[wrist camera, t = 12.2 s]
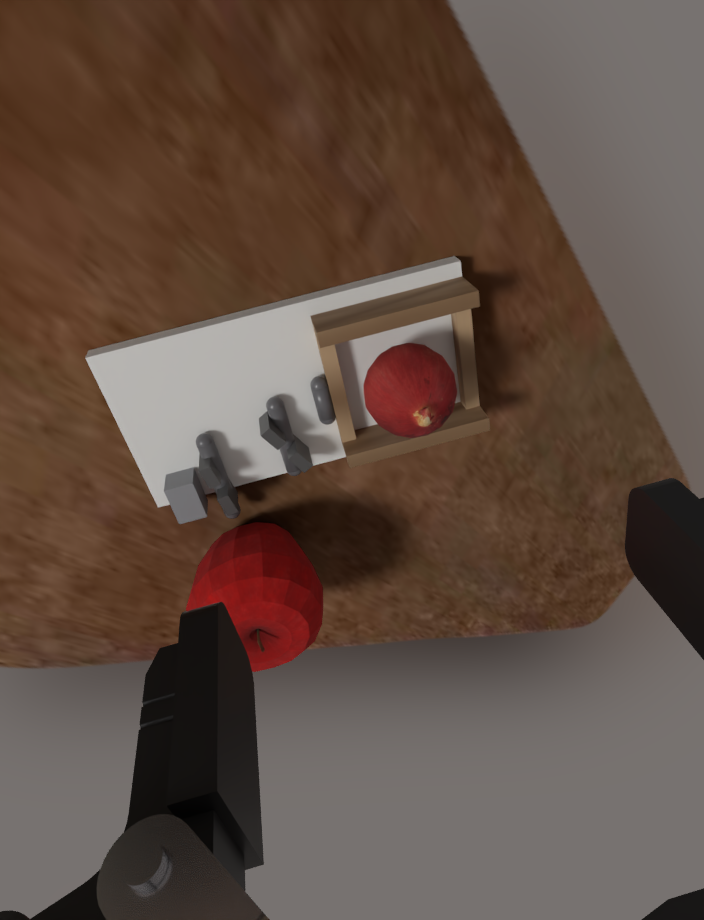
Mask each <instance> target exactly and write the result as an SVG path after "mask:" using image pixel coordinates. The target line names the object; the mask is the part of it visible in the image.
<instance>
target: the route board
mask: <svg viewBox="0 0 704 920" xmlns="http://www.w3.org/2000/svg"><path fill="white" fill-rule="evenodd" d="M458 277H462V269H461V261H460V260H459V259H458V258H457V257H455V256H453V257H449V258H445V259H441V260H437V261H433V262H429V263H425V264H422V265H418V266H414V267H410V268H406V269H402V270H398V271H395V272H391V273H387V274H383V275H379V276H375V277H371V278H367V279H364V280H360V281H356V282H352V283H348V284H344V285H340V286H336V287H333V288H329V289H325V290H321V291H317V292H313V293H309V294H305V295H302V296H298V297H294V298H290V299H286V300H282V301H278V302H274V303H271V304H267V305H263V306H259V307H255V308H251V309H247V310H244V311H240V312H236V313H232V314H228V315H224V316H220V317H216V318H213V319H209V320H205V321H201V322H197V323H193V324H189V325H185V326H182V327H178V328H174V329H170V330H166V331H162V332H158V333H154V334H151V335H147V336H143V337H139V338H135V339H131V340H127V341H124V342H120V343H116V344H112V345H108V346H104V347H100V348H96V349H93V350H89V351H88V353H87V355H86V360H87V362H88V364H89V367H90V369H91V371H92V373H93V375H94V377H95V379H96V381H97V383H98V385H99V387H100V389H101V391H102V393H103V395H104V397H105V399H106V401H107V403H108V406H109V408H110V410H111V412H112V414H113V416H114V418H115V420H116V422H117V424H118V426H119V428H120V430H121V432H122V434H123V436H124V438H125V440H126V442H127V444H128V447H129V449H130V451H131V453H132V455H133V457H134V459H135V461H136V463H137V465H138V467H139V469H140V471H141V473H142V475H143V477H144V479H145V481H146V483H147V486H148V488H149V490H150V492H151V494H152V496H153V498H154V500H155V502H156V504H157V506H158V507H162V506H166V505H169V504H170V505H171V508H172V510H173V512H174V514H175V516H176V518H177V520H178V522H179V524H182V523H186V522H190V521H193V520H197V519H201V518H204V517H207V507H208V500H207V497H206V494H210V493H214V492H216V494H217V500H218V502H219V503H220V505H221V506H222V509H223V511H224V514H225V515H226V516H227V517H228V518H231V519H233V518H236V517H238V516H239V514H240V506H239V504H238V492H237V490H236V489H235V487H236V486H240V485H243V484H247V483H251V482H254V481H258V480H262V479H266V478H269V477H273V476H277V475H280V474H284V473H288V474H290V475H292V476H297V475H299V474H300V473H301V472H302V471H303V472H304V473H305V472H306V471H307V470H308V469H309V468H311V467H312V466H314V465H317V464H321V463H325V462H328V461H332V460H336V459H340V458H343V457H346V455H345V452H344V449H343V445H342V441H341V437H340V433H339V429H338V425H337V421H336V415H335V411H334V407H333V403H332V399H331V395H330V391H329V387H328V383H327V380H326V377H325V373H324V369H323V365H322V361H321V357H320V353H319V349H318V345H317V341H316V336H315V332H314V328H313V324H312V320H311V316H312V315H315V314H319V313H323V312H327V311H331V310H335V309H338V308H342V307H346V306H350V305H354V304H358V303H362V302H365V301H369V300H373V299H377V298H381V297H385V296H389V295H392V294H396V293H400V292H404V291H408V290H412V289H415V288H419V287H423V286H427V285H431V284H435V283H439V282H442V281H446V280H450V279H454V278H458ZM405 343H415V344H423V345H426V346H427V347H429V348H430V349H432V350H433V351H435V352H437V353H439V354H440V355H442V356H443V357H444V359H445V360H446V362H447V363H448V365H449V366H450V368H451V369H452V371H453V373H454V375H455V381H456V387H457V396H456V400H455V403H458V402H461V401H460V392H459V383H458V374H457V365H456V356H455V347H454V338H453V328H452V319H451V314H449V315H445V316H442V317H438V318H434V319H430V320H426V321H423V322H419V323H415V324H411V325H407V326H403V327H400V328H396V329H392V330H388V331H384V332H381V333H377V334H373V335H369V336H365V337H361V338H358V339H354V340H350V341H346V342H342V343H339V344H335V349H336V353H337V357H338V362H339V366H340V370H341V375H342V379H343V383H344V388H345V392H346V396H347V401H348V405H349V409H350V414H351V418H352V422H353V427H354V430H357V429H361V428H365V427H369V426H372V425H376V424H377V423H376V421H375V420H374V419H373V417H372V416H371V414H370V413H369V412H368V410H367V408H366V406H365V399H364V388H363V384H364V381H365V378H366V374H367V371H368V369H369V368H370V366H371V365H372V364H373V362H374V361H375V360H376V358H377V357H378V356H379V354H381V353H383V352H384V351H386V350H387V349H389V348H391V347H392V346H396V345H401V344H405Z"/></svg>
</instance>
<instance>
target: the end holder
mask: <svg viewBox="0 0 704 920" xmlns="http://www.w3.org/2000/svg"><path fill="white" fill-rule="evenodd" d="M476 307H480V301H479V290H477V289H476V288H475V287H474V286H473V285H472V284H470V283H469V282H468V281H467V280H466V279H465V278H464V277H458V278H454V279H450V280H446V281H442V282H439V283H435V284H431V285H427V286H423V287H419V288H415V289H412V290H408V291H404V292H400V293H396V294H392V295H389V296H385V297H381V298H377V299H373V300H369V301H365V302H362V303H358V304H354V305H350V306H346V307H342V308H338V309H335V310H331V311H327V312H323V313H319V314H315V315H312V316H311V320H312V324H313V328H314V332H315V336H316V341H317V345H318V349H319V353H320V357H321V361H322V365H323V369H324V373H325V377H326V380H327V383H328V387H329V391H330V395H331V399H332V403H333V407H334V411H335V415H336V421H337V425H338V429H339V433H340V437H341V441H342V445H343V449H344V452H345V455H346V458H347V461H348V464H349V467H350V468H353V467H356V466H360V465H364V464H367V463H371V462H375V461H379V460H382V459H386V458H390V457H393V456H397V455H401V454H404V453H408V452H412V451H415V450H419V449H423V448H427V447H430V446H434V445H438V444H441V443H445V442H449V441H452V440H456V439H460V438H463V437H467V436H471V435H474V434H478V433H482V432H486V431H489V430H490V423H489V417H488V416H487V415H486V413H485V412H484V411H483V409H482V408H481V407H480V403H479V392H478V381H477V370H476V359H475V348H474V337H473V325H472V314H471V309H472V308H476ZM449 314H451V319H452V328H453V338H454V347H455V356H456V365H457V374H458V383H459V392H460V401H461V402H458V403H455V405H454V409H453V412H452V414H451V415H450V417H449V418H448V419H447V420H446V422H445V423H444V424H443V425H442V427H440V428H439V429H437V430H435V431H434V432H432V433H430V434H429V435H427V436H421V437H416V438H408V437H402V436H396V435H394V434H392V433H390V432H389V431H387V430H385V429H383V428H382V427H380V426H379V425H378V424H376V425H372V426H369V427H365V428H361V429H357V430H354V427H353V422H352V418H351V414H350V409H349V405H348V401H347V396H346V392H345V388H344V383H343V379H342V375H341V370H340V366H339V362H338V357H337V353H336V349H335V344H339V343H342V342H346V341H350V340H354V339H358V338H361V337H365V336H369V335H373V334H377V333H381V332H384V331H388V330H392V329H396V328H400V327H403V326H407V325H411V324H415V323H419V322H423V321H426V320H430V319H434V318H438V317H442V316H445V315H449Z"/></svg>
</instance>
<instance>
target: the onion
mask: <svg viewBox="0 0 704 920" xmlns="http://www.w3.org/2000/svg"><path fill="white" fill-rule="evenodd" d="M363 388H364V399H365V406H366V408H367V410H368V412H369V413H370V414H371V416H372V417H373V419H374V420H375V421H376V423H377V424H378V425H379V426H380V427H382V428H383V429H385V430H387V431H389V432H390V433H392V434H394V435H396V436H402V437H408V438H416V437H421V436H427V435H429V434H430V433H432V432H434V431H435V430H437V429H439V428H440V427H442V425H443V424H444V423H445V422H446V420H447V419H448V418H449V417H450V415H451V414H452V412H453V409H454V405H455V400H456V396H457V387H456V381H455V375H454V373H453V371H452V369H451V368H450V366H449V365H448V363H447V362H446V360H445V359H444V357H443V356H442V355H440V354H439V353H437V352H435V351H433V350H432V349H430V348H429V347H427V346H426V345H423V344H415V343H405V344H401V345H396V346H392V347H391V348H389V349H387V350H386V351H384V352H383V353H381V354H379V356H378V357H377V358H376V360H375V361H374V362H373V364H372V365H371V366H370V368H369V369H368V371H367V374H366V378H365V381H364V384H363Z"/></svg>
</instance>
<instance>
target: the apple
mask: <svg viewBox="0 0 704 920" xmlns="http://www.w3.org/2000/svg"><path fill="white" fill-rule="evenodd" d="M218 602H223V603H224V605H225V607H226V608H227V611H228V613H229V615H230V617H231V619H232V621H233V624H234V626H235V628H236V630H237V632H238V634H239V637H240V639H241V641H242V643H243V645H244V647H245V650H246V652H247V655H248V658H249V661H250V665H251V669H252V671H254V672H256V671H260V670H265V669H269V668H273V667H276V666H279V665H281V664H284V663H287V662H289V661H292V660H293V659H294V658H295V657H297V656H298V655H299V654H300V653H302V652H303V651H304V650H305V649H306V648H308V647H309V646H310V645H311V644H312V643H313V642H314V641H315V639H316V637H317V634H318V632H319V630H320V627H321V625H322V616H323V587H322V585H321V582H320V580H319V578H318V576H317V573H316V571H315V569H314V567H313V565H312V563H311V562H310V560H309V559H308V557H307V556H306V555H305V553H304V552H303V550H302V549H301V548H300V546H299V545H298V544H297V542H296V541H295V540H294V538H293V537H292V536H291V534H290V533H289V532H288V531H287V530H285V529H283V528H281V527H279V526H278V525H276V524H273V523H260V522H255V523H251V524H246V525H242V526H238V527H236V528H234V529H232V530H230V531H228V532H225V533H223V534H222V535H221V536H220V537H219V538H218V539H217V540H216V541H215V542H214V543H213V544H212V546H211V547H210V549H209V550H208V552H207V553H206V555H205V556H204V558H203V559H202V561H201V562H200V564H199V565H198V569H197V572H196V576H195V579H194V583H193V586H192V590H191V593H190V597H189V600H188V604H187V607H186V611H189V610H193V609H196V608H200V607H203V606H207V605H211V604H214V603H218Z"/></svg>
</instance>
